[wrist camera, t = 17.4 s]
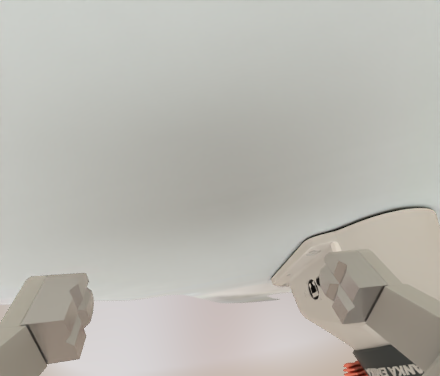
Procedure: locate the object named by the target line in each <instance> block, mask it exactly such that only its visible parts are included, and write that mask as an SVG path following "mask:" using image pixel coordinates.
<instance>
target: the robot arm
mask: <svg viewBox="0 0 440 376" xmlns="http://www.w3.org/2000/svg"><path fill="white" fill-rule="evenodd" d="M271 281H272V283H273V285H275V286H290V287H291V290H292V293H293V296H294V298H295V301H296V303H297V305H298V308H299V310H300V312H301V313H302V315H303V316H304V317H305V318H306V319H308V320H310V321H311V322H313V323H315V324H316V325H318V326H320V327H321V328H323V329H325V330H326V331H328V332H329V333H331V334H332V335H334V336H336V337H337V338H339V339H340V340H342V341H343V342H345V343H346V344H348V345H349V346H351V347H352V348H353V349H354V352H353V354H354V355H355V357H356V358H357V360H358V361H356V362H355V363H346V364H345V365H344V367H346V368H347V369H344V370H343V371H348V373H346V374H344V375H345V376H440V225H439V222H438V219H437V215H436V212H435V211H434V210H432V209H428V208H412V209H404V210H399V211H394V212H389V213H385V214H382V215H378V216H375V217H372V218H369V219H366V220H363V221H360V222H357V223H355V224H352V225H350V226H347V227H345V228H342V229H340V230H337V231H334V232H330V233H326V234H322V235H319V236H315V237H312V238H310V239H308V240H306V241H304V242H303V243H302V245H301V246H300V247H299V248H298V249H297V250H296V251H295V252H294V254H293V255H292V256H291V257H290V258H289V259H288V260H287V262H286V263H285V264H284V265H283V266H282V267H281V268H280V269H279V271H278V272H277V273H276V274H275V275H274V276H273V277H272V279H271ZM88 282H89V280H88V277H87V274H86V273H76V274H59V275H47V276H31V277H30V278H29V279H27V280H26V281H25V283H24V284H23V286H22V288H21V289H20V291H19V293H18V294H17V296H16V298H15V299H14V301H13V302H12V304H11V306H10V307H9V309H8V311H7V312H6V314H5V316H4V317H3V319H2V321H1V322H0V376H39V375H40V374H41V373H42V372H43V371H44V369H45V368H46V367H47V364H51V363H58V362H64V361H70V360H76V359H79V358H80V355H81V352H82V349H83V345H84V342H85V338H86V334H85V331H84V328H85V327H86V326H87V325H88V324H89V323H90V321H91V317H92V314H93V306H94V299H93V293H92V291H91V290H90V289H88V288H87V285H88Z"/></svg>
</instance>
